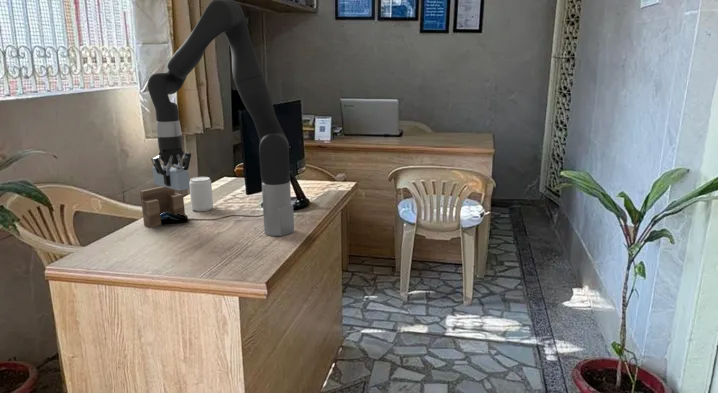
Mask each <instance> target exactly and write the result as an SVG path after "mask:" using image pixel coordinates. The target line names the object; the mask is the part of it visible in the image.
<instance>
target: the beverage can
mask: <svg viewBox="0 0 718 393" xmlns="http://www.w3.org/2000/svg"><path fill="white" fill-rule="evenodd" d="M189 185H190V188H189V195H190V196H189V197H190V205H191V207H190V208H191V210H192V211H196V212H206V211H209V210H211V209H213V208H214V199H213V198H214V197H213V188H212V187H213V186H212V180H211V178H210V177H208V176H196V177H191V178H189Z"/></svg>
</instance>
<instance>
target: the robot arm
mask: <svg viewBox="0 0 718 393" xmlns="http://www.w3.org/2000/svg"><path fill="white" fill-rule="evenodd" d="M223 33H224V35H225V38H226V40H227V43H228V44H229V47H230V53H231V69H232V70H231V71H232V78H233V81H234V83H235V87H236V90H237V92H238V94H239V97H240V99H241V102H242V103H243V105H244V107H245V109H246V110H247V112H248V113H249V115H250V117H251V119H252V121H253V124H254V125H255V129H256V132H257V136H258V139H259V147H258V149H259V150H258V153H259V167H260V172H259V173H260V177H261V179H260V180H261V192H262V193H261V194H262V214H263V228H264V231H263V232H264V234H265V235H267V236H272V237H284V236H287V235H290V234H292V233H294V232H295V221H294V220H295V218H294V205H293V204H292V196H291V195H292V194H291V172H290V170H291V169H290V150H289V149H290V148H289V146H290V145H289V144H290V143H289V141H288V138H287V137H286V134H285V133H284V130H283V128H282V127H281V124H280V122H279V120H278V118H277V115H276V113H275V108H274V106H273V105H274V104H273V100H272V95H271V93H270V90H269V86H268V83H267V81H266V78H265V75H264V73H263V70H262V67H261V65H260V62H259V60H258V57H257V54H256V51H255V48H254V46H253V43H252V40H251V36H250V33H249V28H248V24H247V21H246V17H245V14H244V11H243V9H242V7H241V6H240V4H239V3H238V2H237V1H236V0H213V1H211V2H210V3H209V4H208V5H207V6H206V7H205V9H204V11H203V12H202V15H201V16H200V18H199V20H198V22H197V23H196V24H195V26H194V28H193V30H192V31H191V33H190V34H189V36H188V37H187V38H186V39H185V40H184V42H183V43H182V45H181V46H179V48H178V49H177V50H176V51H175V53H174V54H173V55H172V56H171V57H170V58H169V60H168V62H167V64H166V66H167V69H168V70H167V71H166V72H155V73H151V75H150V76H149V77H148V80H147V90H148V93H149V96H150V99H151V102H152V104H153V106H154V108H155V110H154V111H155V118H156V119H155V120H156V134H157V135H156V136H157V145H158V151H159V152H158V153H159V154H158V155H157V156H155V157H151V162H152V165H153V167H155V169H156V171H157V173H158V174H161V175H163V177H164V184H165V185H166V186H171V181H170V176H169V173H170V169H171V167H172V166H174V168H177V169H182V170H186V171H189V167H190V163H191V158H192V153H191V152H184V150H183V139H182V138H183V137H182V128H181V127H182V126H181V124H180V116H179V108H178V104H177V103H175V102H172V101H171V100H170V97H169V95H174V94H176V93H177V92H179V91H180V89H182V87H183V85H184V83H185V81H186V79H187V76H188V75H189V74H191V72H192V70H194V69H195V67H196V66H197V65H198V64H199V63H200V61H201V59H202V57H203V56H204V54H205V51H206V49H207V48H208V46H209V45H210V44H211V43H212V41H213V40H216V38H217V37H219V36H220V35H221V34H223ZM161 161H162V164H161ZM161 165H162V166H161ZM162 167H163V169H162Z"/></svg>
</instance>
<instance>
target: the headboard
mask: <svg viewBox="0 0 718 393" xmlns="http://www.w3.org/2000/svg"><path fill="white" fill-rule="evenodd" d="M139 193H140V201H141V210H142V218H143V225H144V226H146V227H148V228H155V227H158V226H162V221H161V216H160V214H161V213H163V212H166V211H169V212H171V213H173V214H174V215H177V214H180V215H184V216H185V217H186V212H185V211H186V210H185V209H186V208H185V202H184V200H185V199H184V194H183V193H182V194H181V193H178V192H175V189H171V188H167V187H164V186H157V187H153V188H147V189H143V190H140V191H139Z"/></svg>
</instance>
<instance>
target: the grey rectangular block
mask: <svg viewBox="0 0 718 393" xmlns="http://www.w3.org/2000/svg"><path fill="white" fill-rule="evenodd" d="M162 165H163V164H161V166H162ZM162 169H163V167H162ZM151 170H152V171H151V172H152V179H153V184H154V185H156V186H159V187H161V186H164V187H167V188H171V189H174V191H180V192H181V191H184V190H188V189H189V190H190V185H189V182H190V177H189V170H182V169H177V168H176V167H172V166H171V169H170V173H169V176H170V181H171V186H166V185H165V184H164V177H163V175H161V174H158V173H157V171H156V169H155V167H154V166H152V167H151Z"/></svg>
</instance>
